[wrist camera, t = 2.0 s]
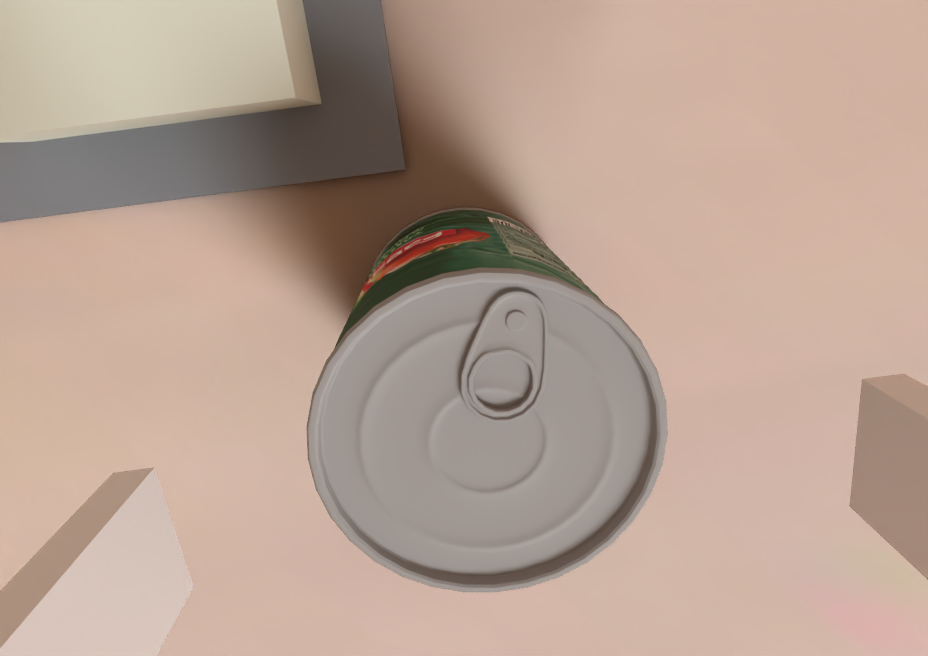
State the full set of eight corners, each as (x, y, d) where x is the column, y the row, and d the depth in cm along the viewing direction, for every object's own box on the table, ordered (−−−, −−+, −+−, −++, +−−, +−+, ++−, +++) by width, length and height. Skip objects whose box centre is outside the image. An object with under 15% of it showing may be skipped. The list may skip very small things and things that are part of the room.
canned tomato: (540, 413, 25) (615, 615, 15) (351, 384, 24) (287, 575, 14) (587, 226, 23) (716, 306, 12) (379, 187, 22) (328, 236, 11)
